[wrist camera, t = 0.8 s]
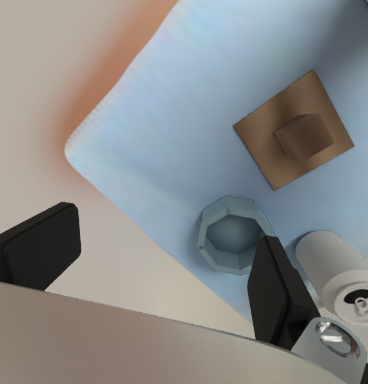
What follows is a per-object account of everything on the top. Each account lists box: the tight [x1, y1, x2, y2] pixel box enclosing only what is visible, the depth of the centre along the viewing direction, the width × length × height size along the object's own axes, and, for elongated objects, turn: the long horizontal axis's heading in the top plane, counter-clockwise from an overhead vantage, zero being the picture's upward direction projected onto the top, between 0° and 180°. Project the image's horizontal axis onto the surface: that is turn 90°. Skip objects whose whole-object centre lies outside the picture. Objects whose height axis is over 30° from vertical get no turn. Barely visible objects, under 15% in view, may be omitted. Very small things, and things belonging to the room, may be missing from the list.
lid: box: [233, 69, 354, 191], centre depth 28 cm, size 12×12×7 cm
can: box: [295, 230, 368, 326], centre depth 30 cm, size 8×8×12 cm
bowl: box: [196, 196, 276, 276], centre depth 34 cm, size 11×11×5 cm
